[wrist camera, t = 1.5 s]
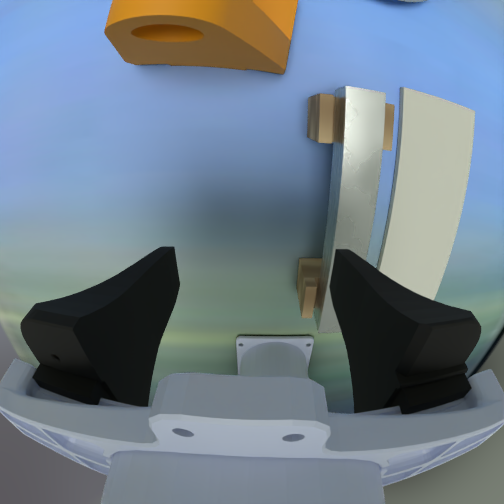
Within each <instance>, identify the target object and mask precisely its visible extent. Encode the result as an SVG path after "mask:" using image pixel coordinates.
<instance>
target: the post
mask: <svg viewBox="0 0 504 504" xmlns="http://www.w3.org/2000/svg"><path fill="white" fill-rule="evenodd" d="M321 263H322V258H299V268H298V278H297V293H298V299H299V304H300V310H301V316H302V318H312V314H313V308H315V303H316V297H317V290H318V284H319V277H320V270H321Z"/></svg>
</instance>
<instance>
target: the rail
mask: <svg viewBox="0 0 504 504" xmlns="http://www.w3.org/2000/svg"><path fill="white" fill-rule="evenodd" d="M385 97H386V93H383V92H378V91H373V90H367V89H362V88H356V87H349V86H344V87H341V88H338V89H335V112H334V137H333V154H332V169H331V182H330V194H329V204H328V214H327V223H326V232H325V240H324V248H323V256H322V263H321V270H320V277H319V284H318V290H317V297H316V303H315V309H314V316H315V321H316V325H317V330H318V333H331V332H341V329H340V326H339V323H338V320H337V317H336V314H335V311H334V308H333V304H332V299H331V294H330V288H329V285H330V280H331V274H332V269H333V263H334V257H335V250H336V249H349V250H351V251H353V252H354V253H356V254H357V255H358V256H360V257H361V258H362V259H364V260H365V261H366V257H367V252H368V247H369V242H370V237H371V231H372V226H373V220H374V214H375V208H376V201H377V194H378V187H379V179H380V170H381V161H382V150H383V138H384V123H385Z"/></svg>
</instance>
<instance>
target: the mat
mask: <svg viewBox="0 0 504 504" xmlns="http://www.w3.org/2000/svg"><path fill="white" fill-rule="evenodd" d="M474 121H475V111H473V110H471V109H469V108H466V107H464V106H461V105H458V104H456V103H453V102H450V101H447V100H444V99H442V98H439V97H436V96H432V95H429V94H426V93H423V92H419V91H416V90H412V89H409V88H405V87H401V88H400V114H399V131H398V144H397V154H396V164H395V172H394V180H393V187H392V194H391V200H390V207H389V212H388V218H387V223H386V229H385V234H384V239H383V243H382V248H381V253H380V257H379V261H378V265H377V270H379V271H380V272H382V273H383V274H384V275H386V276H388V277H389V278H391V279H392V280H394V281H395V282H397V283H399V284H400V285H402V286H404V287H406V288H408V289H409V290H411V291H413V292H415V293H417V294H420V295H422V296H424V297H426V298H429V299H431V300H434V298H435V296H436V293H437V291H438V288H439V285H440V283H441V280H442V277H443V274H444V271H445V268H446V265H447V262H448V259H449V256H450V253H451V250H452V246H453V243H454V239H455V236H456V232H457V228H458V225H459V221H460V216H461V212H462V208H463V203H464V198H465V193H466V188H467V182H468V177H469V170H470V163H471V155H472V147H473V136H474Z"/></svg>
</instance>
